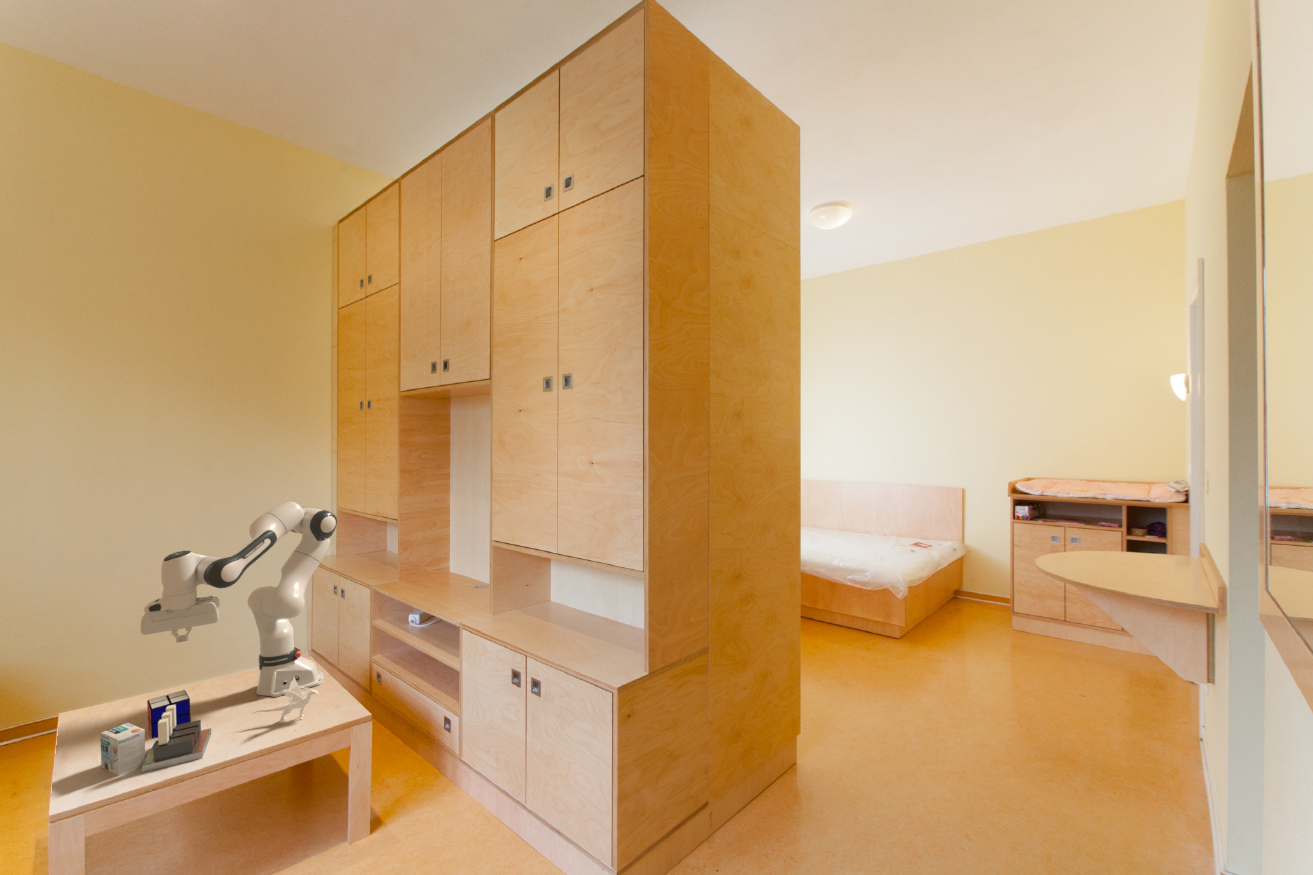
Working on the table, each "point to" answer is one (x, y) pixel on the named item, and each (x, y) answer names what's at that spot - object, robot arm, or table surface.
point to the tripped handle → (169, 716)
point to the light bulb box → (122, 748)
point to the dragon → (293, 700)
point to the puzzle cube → (159, 707)
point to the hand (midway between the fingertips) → (182, 641)
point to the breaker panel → (179, 747)
